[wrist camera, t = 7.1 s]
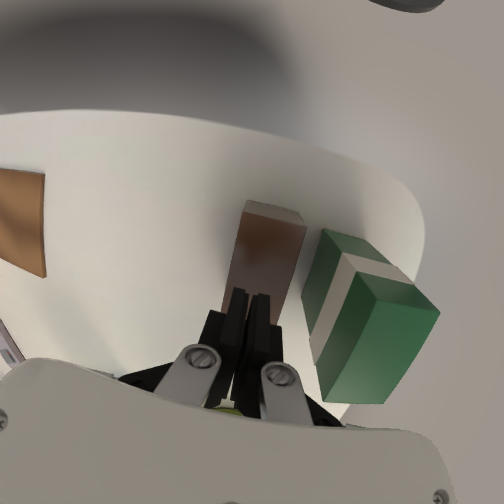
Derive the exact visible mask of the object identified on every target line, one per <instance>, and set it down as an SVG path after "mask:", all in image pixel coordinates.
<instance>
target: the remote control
mask: <svg viewBox="0 0 504 504" xmlns="http://www.w3.org/2000/svg"><path fill="white" fill-rule="evenodd" d="M0 353H1V355H2V357H3V358H4V360H5V361H6V363H7V364H8V365H9V366H10V367H11V368H14V367H15V366H17V365H18V364H20V363H21V362H23V361H25V359H24V357H23V356H22V354H21V353H20V351H19V350H18V348H17V347H16V345H15V344H14V342H13V340H12V339H11V337H10V335H9V334H8V332H7V330H6V329H5V327H4V325H3V323H2V322H1V320H0Z"/></svg>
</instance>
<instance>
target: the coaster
mask: <svg viewBox="0 0 504 504" xmlns="http://www.w3.org/2000/svg"><path fill="white" fill-rule="evenodd" d="M44 176H45V174H40V173H33V172H26V171H18V170H10V169H1V168H0V258H1V259H3V260H5V261H7V262H9V263H11V264H13V265H15V266H17V267H19V268H22V269H24V270H26V271H28V272H30V273H32V274H34V275H37V276H39V277H41V278H45V277H46V270H45V259H44V243H43V192H44Z"/></svg>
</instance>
